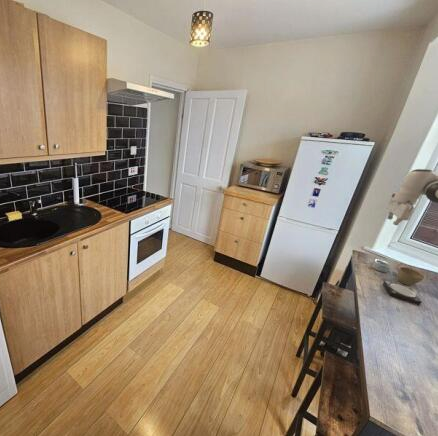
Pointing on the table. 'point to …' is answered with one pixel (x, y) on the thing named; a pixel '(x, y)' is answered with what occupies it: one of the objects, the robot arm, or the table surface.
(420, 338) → the table surface
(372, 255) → the table surface
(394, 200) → the robot arm
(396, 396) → the table surface
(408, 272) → the flower pot
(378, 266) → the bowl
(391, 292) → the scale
